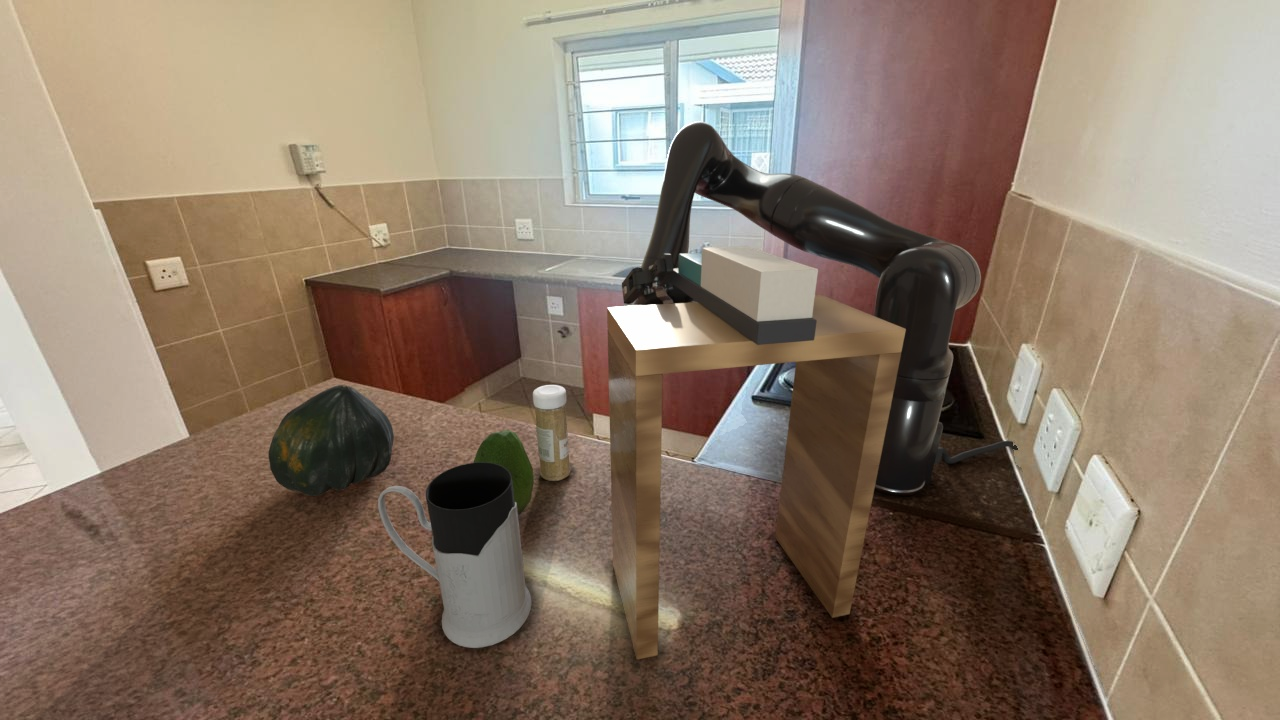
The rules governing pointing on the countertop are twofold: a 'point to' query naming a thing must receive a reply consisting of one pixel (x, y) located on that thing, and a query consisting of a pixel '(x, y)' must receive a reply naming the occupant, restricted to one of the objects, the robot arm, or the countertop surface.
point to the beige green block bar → (752, 291)
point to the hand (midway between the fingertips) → (702, 261)
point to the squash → (331, 442)
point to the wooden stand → (815, 450)
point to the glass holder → (472, 551)
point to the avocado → (509, 463)
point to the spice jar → (552, 431)
